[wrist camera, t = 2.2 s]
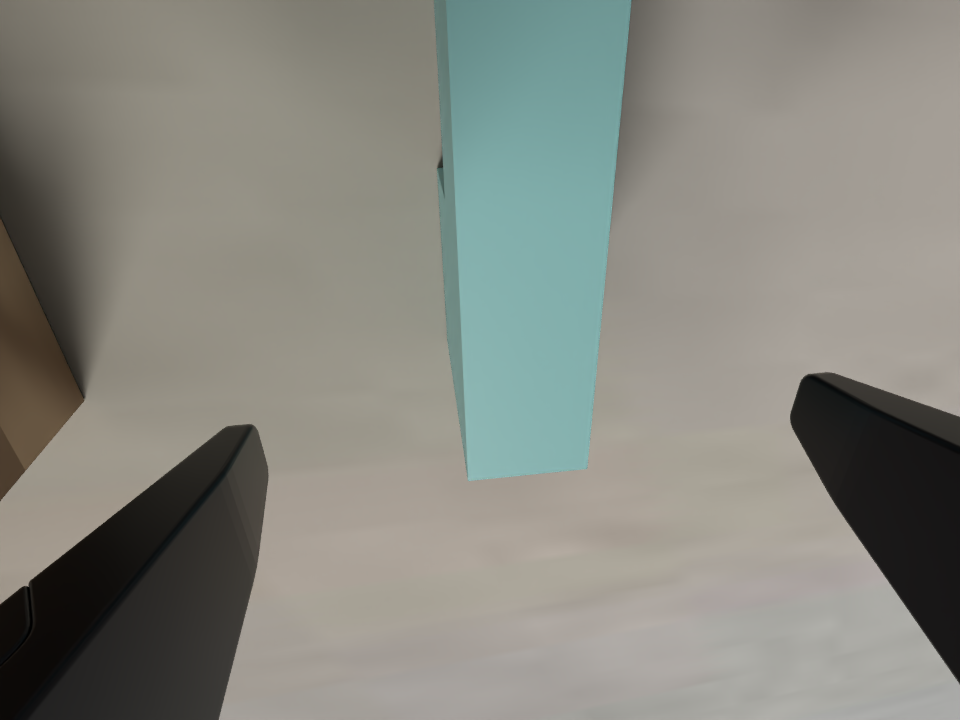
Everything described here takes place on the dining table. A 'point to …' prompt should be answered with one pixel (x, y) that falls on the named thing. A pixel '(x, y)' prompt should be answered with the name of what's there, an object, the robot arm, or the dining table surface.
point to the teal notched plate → (527, 219)
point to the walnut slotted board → (28, 372)
